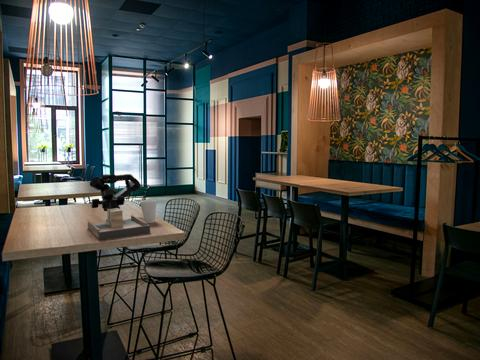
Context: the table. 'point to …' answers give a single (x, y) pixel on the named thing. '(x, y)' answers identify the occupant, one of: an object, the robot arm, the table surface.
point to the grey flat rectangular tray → (119, 229)
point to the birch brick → (115, 217)
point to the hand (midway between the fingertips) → (111, 213)
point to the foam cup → (148, 210)
